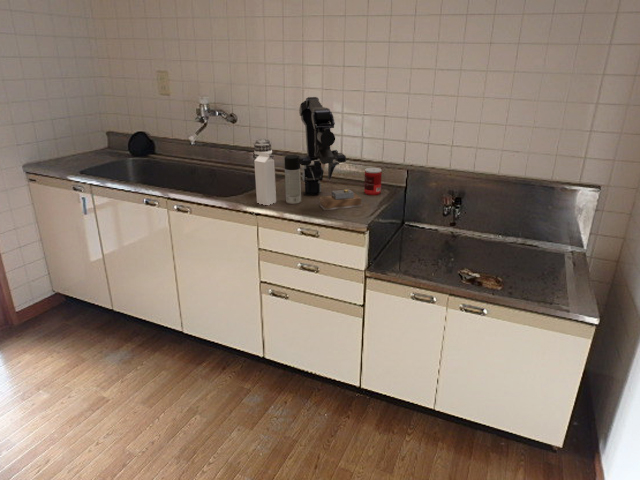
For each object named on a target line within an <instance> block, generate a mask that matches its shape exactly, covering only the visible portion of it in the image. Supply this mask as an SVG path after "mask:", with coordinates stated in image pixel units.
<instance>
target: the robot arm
mask: <svg viewBox="0 0 640 480" xmlns="http://www.w3.org/2000/svg"><path fill="white" fill-rule="evenodd" d="M298 110H299V111H298V112H299V116H300V120H301V121H302V123H303V125H304V128H305V143H306V146H305V147H306V154H305V155H298V156H299V157H298V163H299V164H300V166H303V169H302V174H301V177H302V181H303V182H304V192H303V194H304V195H306V196H318V195H320V193H321V192H322V183H321V182H323V180H324V179H323V178H324V177H323V176H324V170H323V167H322V165H326V164H328V168H327V169H328V171H327V173H328V174H327V176H328V180H331V178H332V176H333V173H334V169H335V168H336V167H337V166H339V165H340V163H347V157H346V155H345V154H344V153H342V152H339V151H338V150H337V149H332V150H331V146H332V145H334V143H335V141H336V136H335V134H334V133H333V131H331V129H334V128H335V125H336V123H335V117H334V114H333V112H332V111H331V109H330V108H328V107H325V106H323V105H322V103H321V102H320V100H319V97H317V96H308V97H305V100H304V101H303V102H301V103H300V105H299V109H298Z"/></svg>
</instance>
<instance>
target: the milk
mask: <svg viewBox="0 0 640 480" xmlns="http://www.w3.org/2000/svg"><path fill="white" fill-rule="evenodd" d="M272 158H273V157H272ZM272 158H270V157H269V153H263V152H259V156H258V157H257V158H256V159H255V158H254V159H255V160H254V159H253V165H254V164H255V166H254V168H255V169H254V176H255V177H254V178H255V180H256V182H255V193H256V204H257V203H259V204H258V205H261V204H263V205H262V206H265V205H268V206H270V204H271V205H274V204H276V203H277V192H276V190H277V189H276V168H275V158H273V159H272ZM273 203H274V204H273Z"/></svg>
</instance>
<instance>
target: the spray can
mask: <svg viewBox="0 0 640 480" xmlns="http://www.w3.org/2000/svg"><path fill="white" fill-rule="evenodd" d="M299 156H300V155H297V154H289V155H285V157H284V180H285V181H284V183H285V186H284V187H285V201H286V203H287V204H291V205H292V204H293V205H297V204H300V203H301V202H302V189H301V188H302V186H301V185H302V183H301V181H302V180H301V177H302V175H301V164H299V163H298V157H299Z"/></svg>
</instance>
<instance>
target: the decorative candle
mask: <svg viewBox="0 0 640 480" xmlns="http://www.w3.org/2000/svg"><path fill="white" fill-rule="evenodd" d="M253 145H254V147H253V148H254V150H253V151H254V152H252V154H253V155H252V158H253V161H254V160H255V159H256V158H257V157H258V156H259V152H263V153H269V157H270V158H272V159H274V157H275V156H274V155H273V150H272V145H273V144H272V141H270V140H269V139H267V138H259V139H258V138H257V139H256V140H255V142H254V143H253ZM253 166H254V170H255V164H254V163H253ZM254 182H255V183H256V179H255V181H254Z"/></svg>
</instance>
